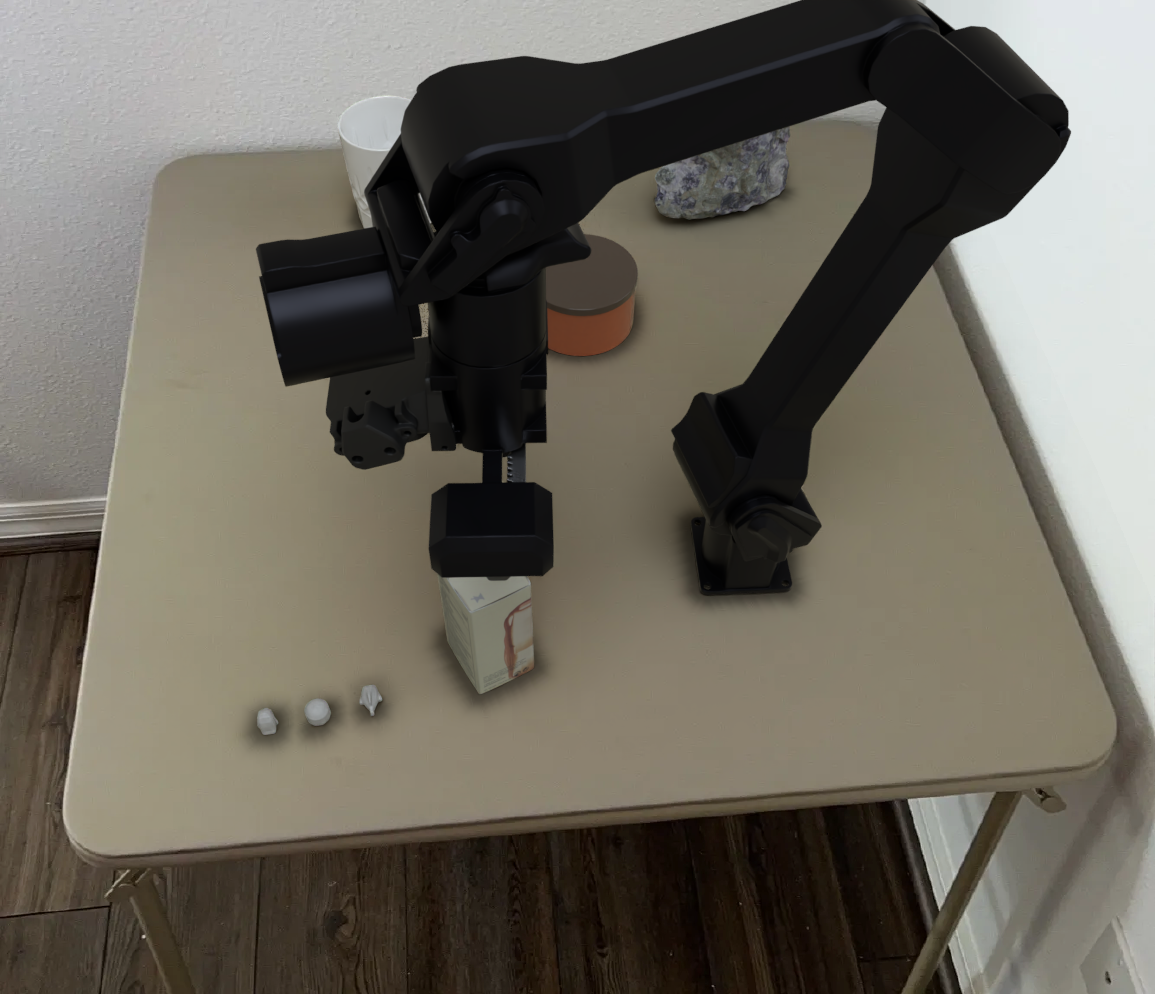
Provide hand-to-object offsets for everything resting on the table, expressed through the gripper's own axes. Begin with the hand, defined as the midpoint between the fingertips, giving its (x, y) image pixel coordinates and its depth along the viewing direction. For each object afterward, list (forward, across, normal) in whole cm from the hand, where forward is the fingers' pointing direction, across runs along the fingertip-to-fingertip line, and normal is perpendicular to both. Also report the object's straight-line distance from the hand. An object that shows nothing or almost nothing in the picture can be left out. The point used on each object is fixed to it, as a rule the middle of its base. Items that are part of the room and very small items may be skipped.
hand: (498, 514), depth 68 cm
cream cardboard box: (+12, +3, -1) cm, 13 cm away
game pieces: (+12, +7, -12) cm, 18 cm away
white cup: (+12, -43, -10) cm, 46 cm away
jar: (+12, -30, +6) cm, 33 cm away
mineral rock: (+12, -46, +20) cm, 52 cm away
